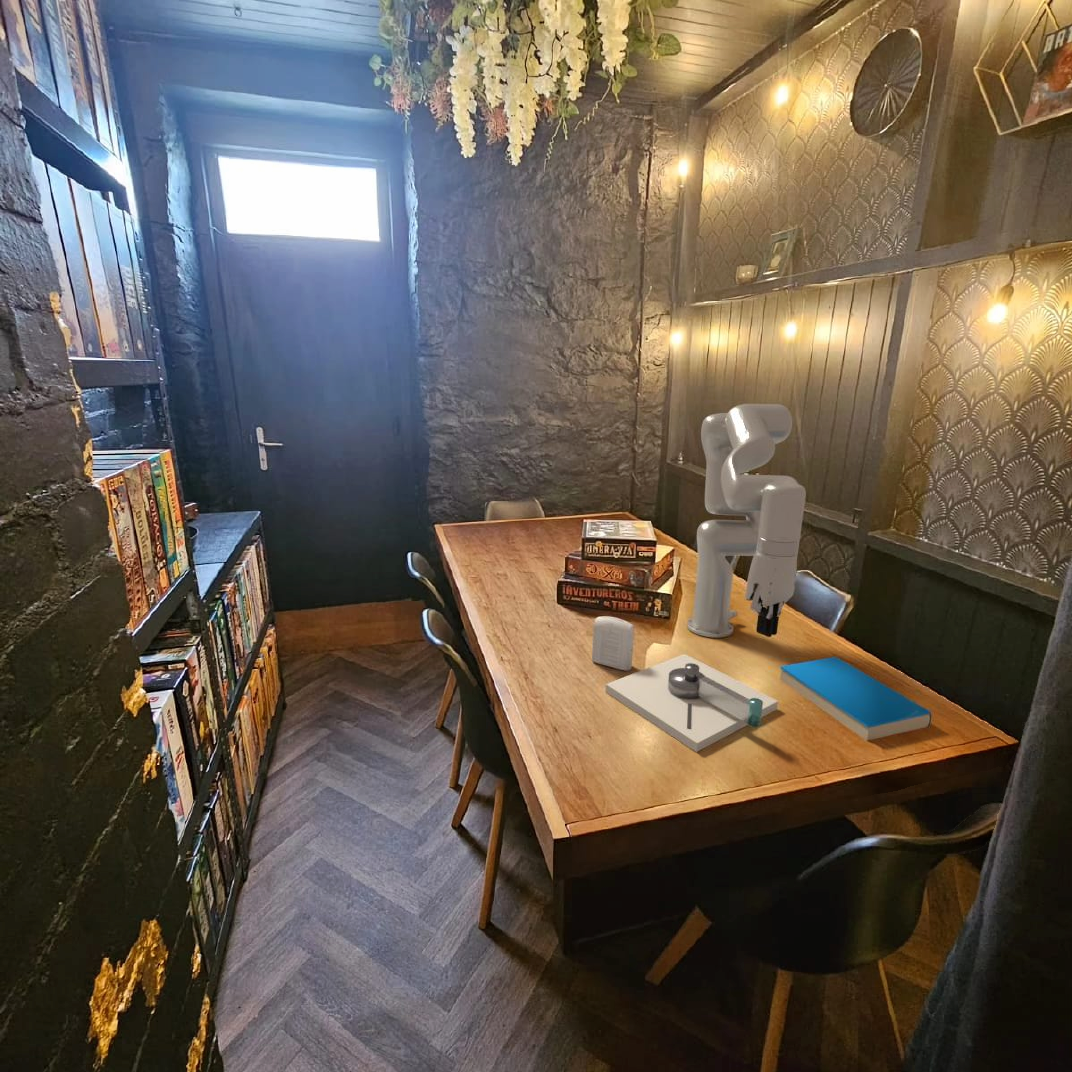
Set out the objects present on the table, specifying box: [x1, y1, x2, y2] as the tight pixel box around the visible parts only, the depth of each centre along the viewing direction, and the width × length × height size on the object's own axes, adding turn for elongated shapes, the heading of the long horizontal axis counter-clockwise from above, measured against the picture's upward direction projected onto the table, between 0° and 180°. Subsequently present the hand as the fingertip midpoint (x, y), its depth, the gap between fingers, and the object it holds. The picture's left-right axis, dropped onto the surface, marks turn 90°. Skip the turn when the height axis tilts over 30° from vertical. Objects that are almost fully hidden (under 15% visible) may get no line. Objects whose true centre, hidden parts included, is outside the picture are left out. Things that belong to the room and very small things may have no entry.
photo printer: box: [591, 615, 635, 672], centre depth 141 cm, size 10×4×12 cm, turn 60°
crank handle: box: [668, 663, 763, 728], centre depth 121 cm, size 22×8×6 cm, turn 35°
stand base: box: [605, 653, 779, 753], centre depth 127 cm, size 26×26×2 cm
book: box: [779, 656, 932, 742], centre depth 127 cm, size 17×4×25 cm
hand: (766, 633), depth 116 cm, fingers closed
